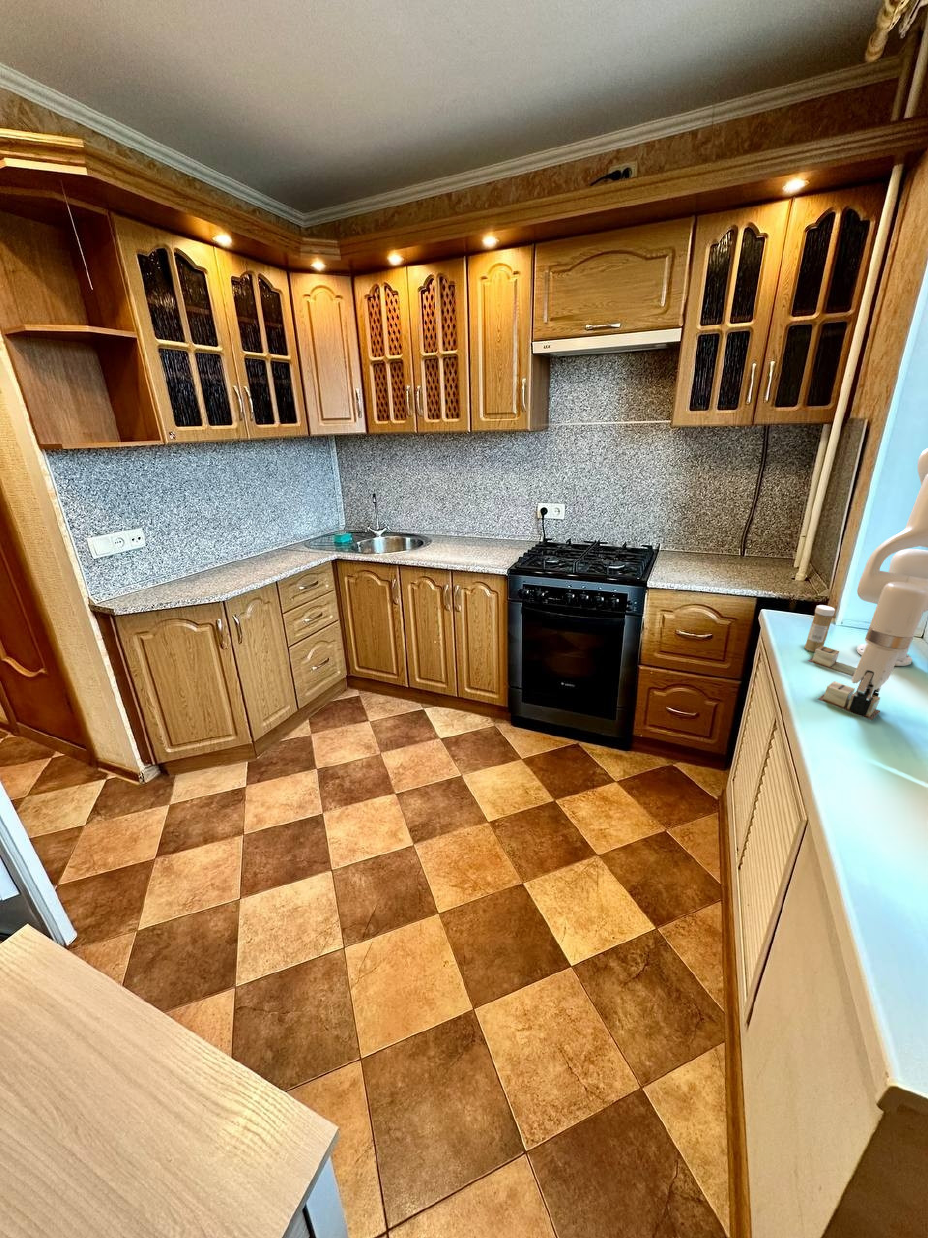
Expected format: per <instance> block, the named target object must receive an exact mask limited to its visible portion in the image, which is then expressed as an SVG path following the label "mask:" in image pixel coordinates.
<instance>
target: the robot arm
mask: <svg viewBox="0 0 928 1238" xmlns="http://www.w3.org/2000/svg"><path fill="white" fill-rule="evenodd" d="M917 474H918V478H919V482H920V489H919V490H918V494H917V496H916V499H915V502H914V504H913V506H912V509H911V512H910V514H909V516H908V519H907V522H906V525H905V527H904V528H903V530H901V531H900V532H898V533H896V534H894V535H892V536H891V537H889V538H888V539H885V540H884V541H883V542H881V543H880V544H879V545H878V546H877V547H876V548H875V549H874V550H873V551H872V552H871V554H870V555H869V557H868V559H867V562H866V563H865V566H864V569H863V571H862V574H861V576H860V578H859V581H858V584H857V589H856V591H857V592H856V593H857V596H858V598H859V599H860V600H862V601H864V602H867V603H870V604H875V605H876V606H875V610H874V613H873V614H872V615H873V616H872V618H871V620H870V623H869V626H868V629H867V632H866V635H865V638H864V641H865V643H862V644H859V645H858V646H857V647H856V652H857V653H858V654H859V655H860V656H861V657H860V659H859V662H858V664H857V666H856V667H855V668H856V671H855V673H854V676H852V678H851V682H852V684H858V683H859V684H858V685H857V689H856V691H855V692H856V693H855V692H854V693H855V695H854V697H853V700H852V703H851V706H850V708H849V709H850V710H851V711H853V712H856V713H858V714H861V715H864V716H865V715H866V714H867V711H868V709H869V706H870V703H871V701H872V700H870V699H871V696H872V695H875V696H877V697H879V695H880V691H881V688H882V686H883V685H884V684H885V683H886V682H888V680H889V678H890V676H891V675H892V673H893V670H894V667H896V666H897V667H907V666H910V665H911V664H912V662H913V658H912V656H910V655H909V654H908V653H909V650H910V648H911V645H912V642H913V639H914V637H915V634H916V632H917V630H918V628H919V626H920V625H919V624H920V623H921V620H922V618H923V614H924V613H926V612H928V550H927V548H928V448H926V449H924V450H923V451H922V452H921V453H920V455H919V457H918V459H917ZM918 547H921V548H926V549H920V548H918ZM917 548H918V549H917ZM893 554H894V555H893ZM891 555H892V557H891V560H890V563H889V569H888V571H883V570H881V566H882V565H883V563H884V561H885V560H886V559H887V558H889V557H890V556H891Z"/></svg>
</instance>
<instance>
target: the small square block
mask: <svg viewBox="0 0 928 1238" xmlns="http://www.w3.org/2000/svg"><path fill="white" fill-rule="evenodd" d="M855 693H856V691H854V693H853V695H852V696H851V698H850V701H849V704H848V707H847V709H849V708H850V706H851V703H852V700H853V697H854V695H855ZM870 700H872V701H871V703H870V706H869V709H868V711H867V714H866V715H865V716H868V717H869V716H870V715H871V714H872V713H874V712H875V710H877V707H878V705H879V703H880V700H881V697H880V696H878V697H877V696H875V695H872V696H871V699H870Z"/></svg>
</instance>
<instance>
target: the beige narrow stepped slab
mask: <svg viewBox="0 0 928 1238" xmlns="http://www.w3.org/2000/svg"><path fill="white" fill-rule="evenodd" d="M839 655H840V650H838V649H834V648H831V647H827V646H824V645H823V646H821V647H819V648H817V649H816V650H815V652H813V656H812V657H811V658H809V659H808V660H807V662H808V663H812V664H815V665H818V666H821V667H823V668H827V669H830V670H833V671H835V672H838V673H841V674H843V675H847V676H850V677H853V676H854V673H855V671H856V668H857V667H854V666H850V665H848V664H844V663H842V662H839V661H837V660H838V657H839Z"/></svg>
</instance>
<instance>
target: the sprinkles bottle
mask: <svg viewBox="0 0 928 1238" xmlns="http://www.w3.org/2000/svg"><path fill="white" fill-rule="evenodd" d="M835 612H836V608H835V607H832V606H829V605H824V604H819V605H816V607H815V609H814V615H813V619H812V622H811V625H810V629H809V632H808V635H807V639H806V641H805V645H804V649H805V650H806V651H808V652H813V653H815V650H816V649H817V648H819V647H821V646H824V645H825V642H826V640H827V637H828V633H829V629H830V626H831V623H832V620H833V617H834V616H835V614H836V613H835Z"/></svg>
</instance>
